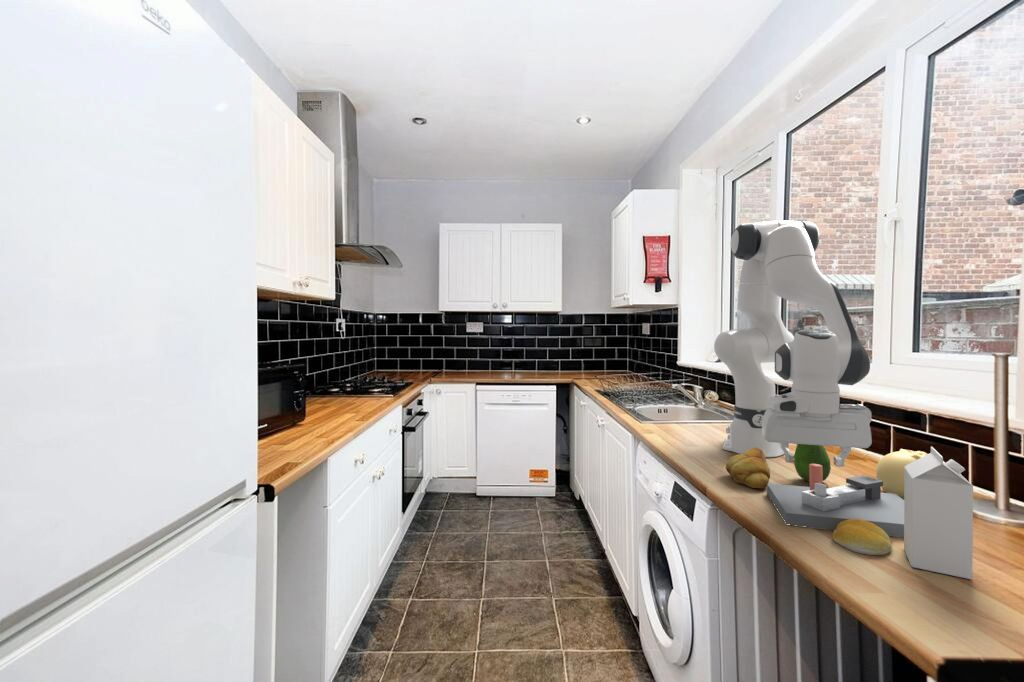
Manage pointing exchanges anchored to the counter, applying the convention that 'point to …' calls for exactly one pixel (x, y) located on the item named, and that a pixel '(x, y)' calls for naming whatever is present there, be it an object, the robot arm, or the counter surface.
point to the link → (834, 497)
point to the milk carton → (938, 516)
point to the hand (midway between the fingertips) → (813, 463)
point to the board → (875, 508)
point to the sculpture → (895, 469)
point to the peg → (815, 475)
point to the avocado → (811, 459)
